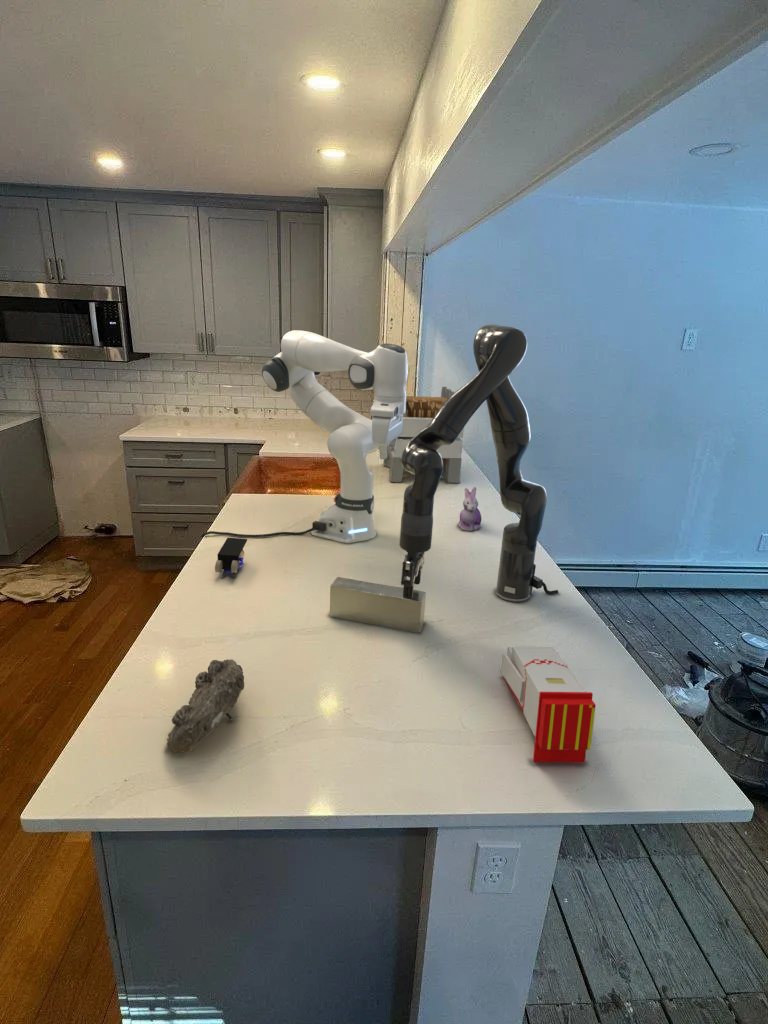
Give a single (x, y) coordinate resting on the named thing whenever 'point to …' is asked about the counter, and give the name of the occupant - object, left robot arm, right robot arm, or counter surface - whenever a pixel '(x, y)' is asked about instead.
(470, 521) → the figurine
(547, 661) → the toy
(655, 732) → the counter surface
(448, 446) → the grey storage crate
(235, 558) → the toy car
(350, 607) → the bar
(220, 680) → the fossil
